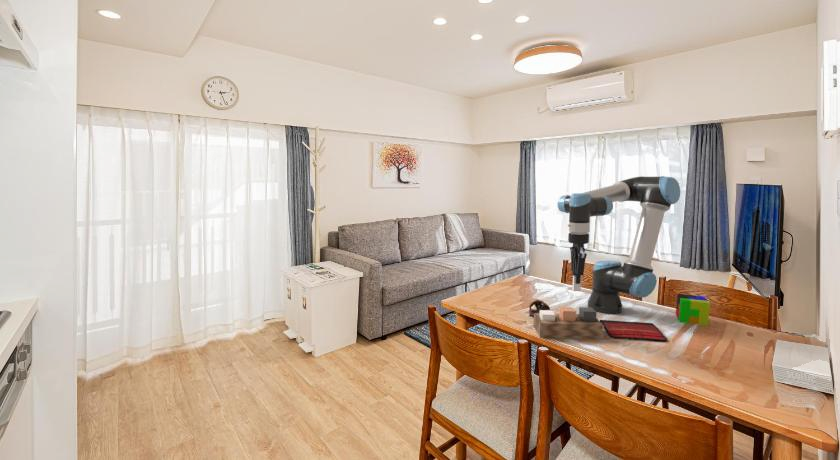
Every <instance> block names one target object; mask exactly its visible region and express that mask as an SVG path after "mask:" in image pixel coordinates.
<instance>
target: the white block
mask: <svg viewBox="0 0 840 460" xmlns="http://www.w3.org/2000/svg"><path fill="white" fill-rule="evenodd" d="M554 313H555V312H554V311H553V310H551V309H550V310H540V313H539V318H540V319H541V321H555V314H556V313H555V314H554Z"/></svg>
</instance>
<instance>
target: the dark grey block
mask: <svg viewBox="0 0 840 460" xmlns="http://www.w3.org/2000/svg"><path fill="white" fill-rule="evenodd" d="M578 309H579V310H578V314H579V319H580V320H581V321H582V322H596V318H597V315H598V314H597V313H598V312H597V311H595V310H594V309H593V308H592V307H588V306H586V307H585V306H584V307H583V306H582V307H581V306H579V308H578Z"/></svg>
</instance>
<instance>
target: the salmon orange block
mask: <svg viewBox="0 0 840 460" xmlns="http://www.w3.org/2000/svg"><path fill="white" fill-rule="evenodd" d="M558 310H559V311H558V314H559V318H560V320H561V321H576V314H577V311H576V310H575V309H574V307H572V306H559V309H558Z"/></svg>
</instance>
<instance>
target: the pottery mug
mask: <svg viewBox="0 0 840 460" xmlns="http://www.w3.org/2000/svg"><path fill="white" fill-rule="evenodd" d="M533 306H535V307H534V308H536V309H532V307H533ZM528 307H529V310H528V314H529V316H534V313H540V310H551V307H550V306H549V304H547V303H546V302H544V300H540V299H536V300H534V301H532V302H531V303H529V306H528Z"/></svg>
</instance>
